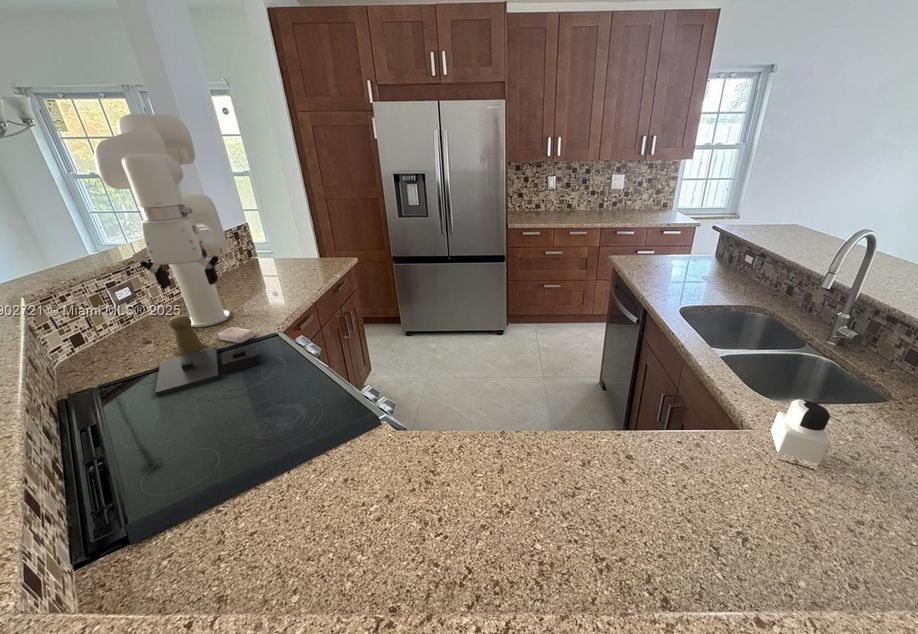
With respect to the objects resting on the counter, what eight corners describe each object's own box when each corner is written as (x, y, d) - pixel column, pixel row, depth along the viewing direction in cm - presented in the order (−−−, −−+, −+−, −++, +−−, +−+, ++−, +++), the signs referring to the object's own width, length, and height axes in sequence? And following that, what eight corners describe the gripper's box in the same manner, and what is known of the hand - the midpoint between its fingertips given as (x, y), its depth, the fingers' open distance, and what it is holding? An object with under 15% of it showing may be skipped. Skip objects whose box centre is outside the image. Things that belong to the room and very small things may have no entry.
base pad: (162, 364, 105) (158, 356, 104) (217, 351, 112) (214, 342, 111) (156, 396, 92) (152, 387, 91) (219, 378, 99) (216, 369, 98)
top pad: (225, 363, 106) (221, 354, 105) (257, 355, 110) (254, 346, 109) (226, 373, 102) (222, 364, 100) (259, 364, 106) (256, 355, 105)
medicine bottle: (807, 446, 78) (828, 401, 73) (817, 471, 72) (841, 423, 67) (767, 436, 81) (785, 391, 76) (773, 459, 75) (793, 412, 70)
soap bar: (240, 344, 116) (238, 337, 115) (219, 340, 119) (216, 333, 118) (255, 336, 121) (253, 329, 120) (234, 332, 123) (232, 326, 122)
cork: (208, 344, 116) (196, 313, 111) (191, 354, 110) (178, 322, 106) (190, 343, 116) (177, 312, 112) (173, 353, 111) (159, 320, 106)
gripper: (215, 209, 89) (235, 276, 96) (126, 213, 84) (155, 283, 91) (202, 214, 83) (226, 286, 90) (106, 218, 78) (139, 294, 85)
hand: (190, 284), depth 91 cm, fingers open, 9 cm apart
